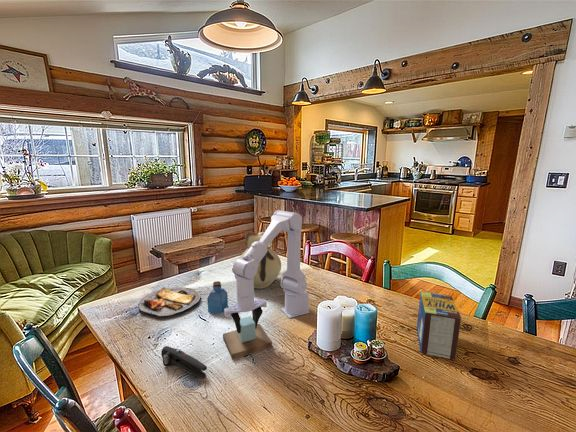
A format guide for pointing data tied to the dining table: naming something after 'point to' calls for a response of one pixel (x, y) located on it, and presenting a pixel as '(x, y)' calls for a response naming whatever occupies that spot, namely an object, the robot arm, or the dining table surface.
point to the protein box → (438, 325)
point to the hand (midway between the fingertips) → (246, 329)
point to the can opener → (183, 361)
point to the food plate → (169, 300)
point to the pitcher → (264, 263)
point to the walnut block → (246, 343)
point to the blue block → (247, 329)
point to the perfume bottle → (217, 299)
